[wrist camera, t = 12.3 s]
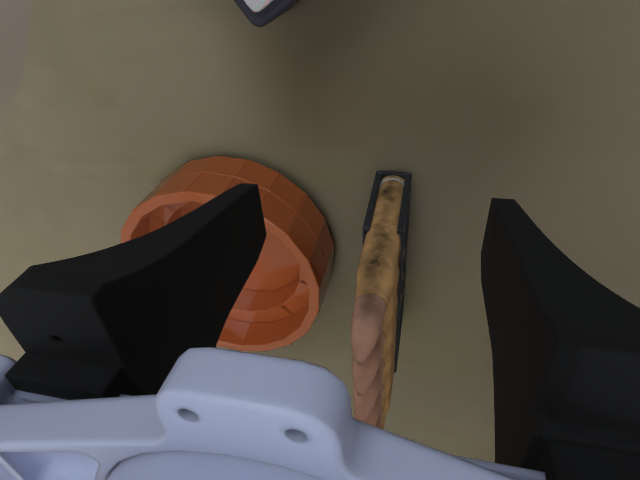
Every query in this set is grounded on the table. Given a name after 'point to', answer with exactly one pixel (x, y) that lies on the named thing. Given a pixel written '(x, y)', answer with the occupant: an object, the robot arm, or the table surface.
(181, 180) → the bowl
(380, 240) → the ammunition clip
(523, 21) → the table surface
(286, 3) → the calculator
